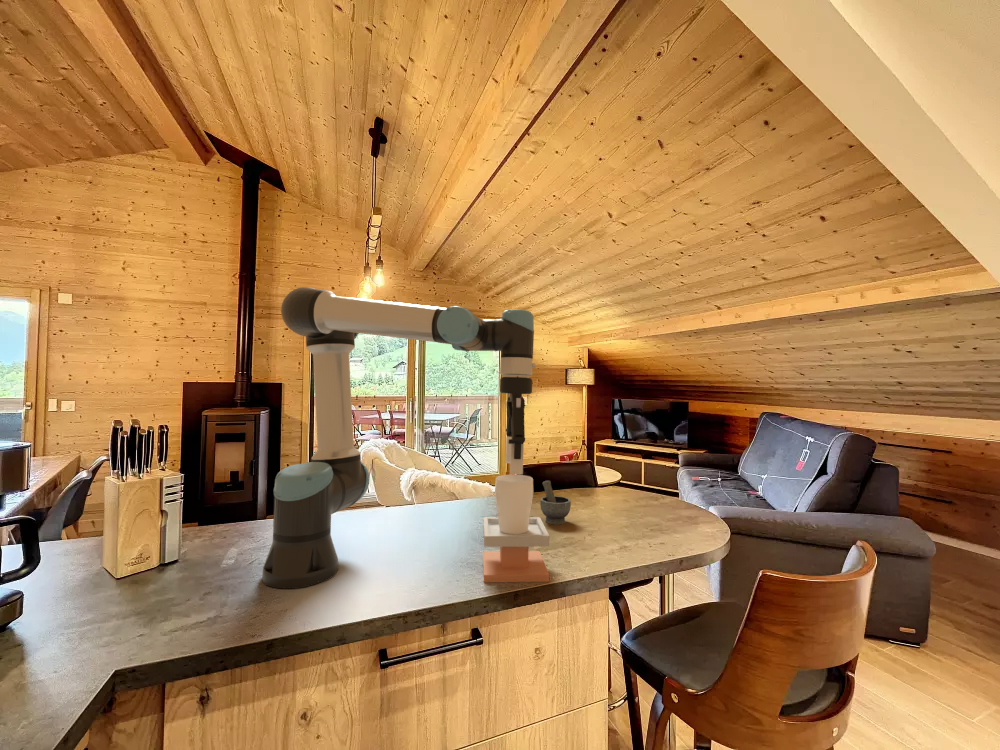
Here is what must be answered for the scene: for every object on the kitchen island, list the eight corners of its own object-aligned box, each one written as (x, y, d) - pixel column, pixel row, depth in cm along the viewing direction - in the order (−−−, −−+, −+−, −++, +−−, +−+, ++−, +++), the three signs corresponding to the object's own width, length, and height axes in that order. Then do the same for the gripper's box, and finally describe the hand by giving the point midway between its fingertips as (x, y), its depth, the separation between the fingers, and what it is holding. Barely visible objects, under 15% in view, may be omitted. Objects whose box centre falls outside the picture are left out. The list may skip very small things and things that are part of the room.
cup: (530, 537, 97) (530, 483, 98) (490, 534, 99) (491, 480, 100) (535, 525, 106) (535, 475, 107) (498, 522, 108) (499, 473, 108)
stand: (483, 582, 94) (484, 536, 94) (482, 557, 108) (483, 517, 108) (548, 581, 95) (549, 536, 95) (539, 557, 109) (539, 517, 109)
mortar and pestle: (577, 523, 136) (577, 484, 137) (552, 528, 132) (552, 487, 132) (555, 514, 146) (556, 478, 147) (531, 518, 142) (532, 480, 142)
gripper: (540, 375, 91) (537, 479, 90) (526, 378, 116) (523, 459, 115) (503, 374, 90) (500, 478, 90) (497, 377, 115) (495, 459, 114)
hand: (513, 468), depth 102 cm, fingers open, 13 cm apart
